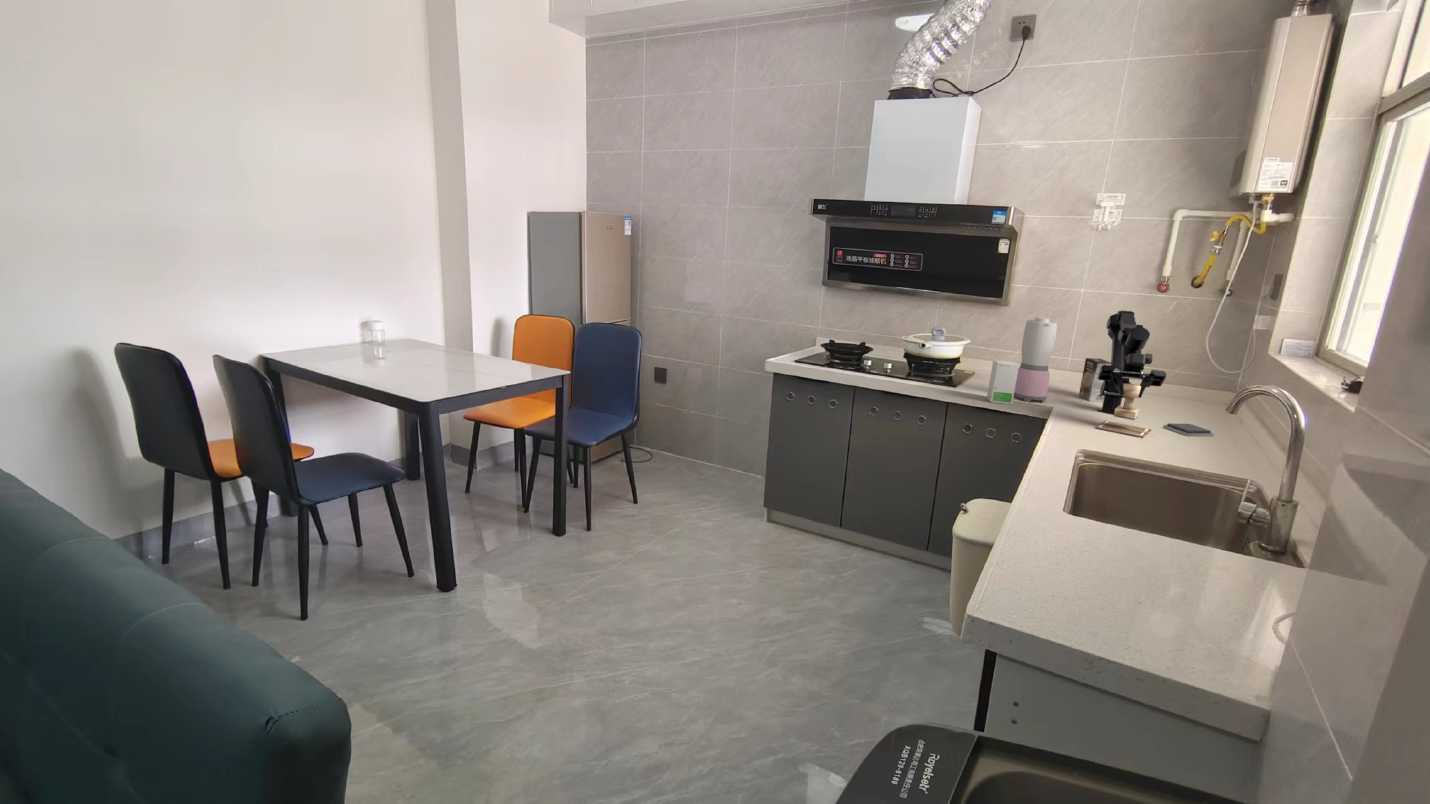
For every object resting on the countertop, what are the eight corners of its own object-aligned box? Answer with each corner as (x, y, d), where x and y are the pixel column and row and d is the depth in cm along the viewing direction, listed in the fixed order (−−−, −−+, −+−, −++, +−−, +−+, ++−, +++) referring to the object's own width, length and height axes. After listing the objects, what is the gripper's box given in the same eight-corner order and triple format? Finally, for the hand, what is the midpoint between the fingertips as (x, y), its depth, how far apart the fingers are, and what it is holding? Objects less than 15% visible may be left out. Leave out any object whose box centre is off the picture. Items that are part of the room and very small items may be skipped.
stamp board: (1143, 438, 216) (1143, 436, 216) (1094, 428, 225) (1095, 427, 225) (1151, 430, 226) (1151, 429, 226) (1104, 421, 235) (1105, 420, 235)
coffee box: (1077, 396, 275) (1084, 357, 271) (1093, 397, 275) (1100, 358, 271) (1089, 401, 266) (1096, 361, 262) (1105, 402, 266) (1113, 362, 262)
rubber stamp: (1113, 416, 224) (1119, 384, 222) (1117, 413, 229) (1123, 382, 226) (1134, 420, 220) (1140, 388, 218) (1137, 416, 225) (1144, 385, 222)
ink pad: (1186, 436, 221) (1187, 431, 221) (1163, 427, 231) (1164, 422, 230) (1213, 436, 223) (1214, 431, 222) (1188, 427, 232) (1189, 423, 232)
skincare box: (990, 402, 255) (996, 362, 251) (985, 398, 261) (991, 359, 257) (1013, 404, 254) (1019, 364, 250) (1008, 400, 260) (1014, 361, 256)
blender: (1052, 403, 259) (1067, 320, 251) (1021, 402, 258) (1035, 319, 250) (1031, 394, 274) (1045, 315, 266) (1002, 393, 273) (1015, 314, 266)
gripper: (1106, 341, 225) (1105, 378, 218) (1171, 347, 219) (1171, 386, 211) (1098, 360, 234) (1096, 397, 227) (1160, 366, 228) (1160, 405, 221)
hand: (1131, 396), depth 221 cm, fingers closed on rubber stamp, 5 cm apart
